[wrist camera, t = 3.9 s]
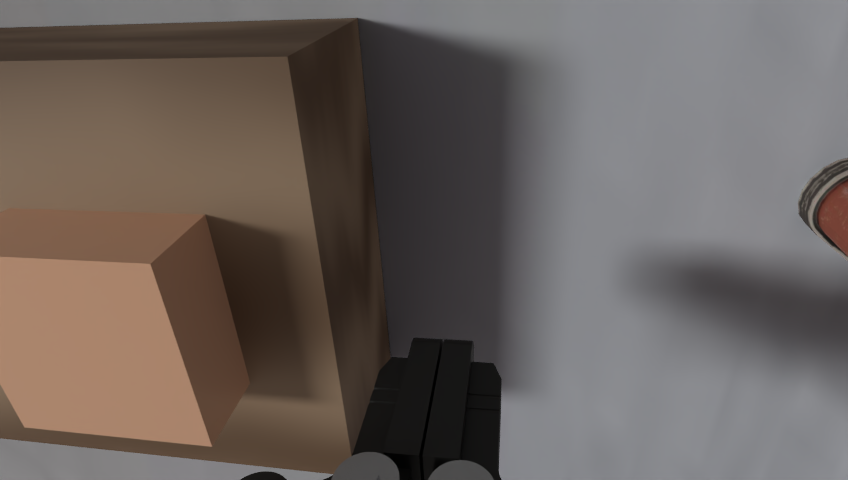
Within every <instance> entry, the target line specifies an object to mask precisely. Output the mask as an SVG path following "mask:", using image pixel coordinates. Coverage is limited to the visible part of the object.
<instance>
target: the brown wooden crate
mask: <svg viewBox="0 0 848 480" xmlns="http://www.w3.org/2000/svg"><path fill="white" fill-rule="evenodd" d="M8 208H20V209H51V210H82V211H114V212H145V213H177V214H205V216H206V219H207V223H208V227H209V231H210V234H211V238H212V242H213V246H214V249H215V253H216V257H217V261H218V264H219V268H220V272H221V276H222V279H223V283H224V287H225V291H226V294H227V298H228V302H229V306H230V309H231V313H232V317H233V321H234V324H235V328H236V332H237V336H238V339H239V343H240V347H241V351H242V354H243V358H244V362H245V366H246V369H247V373H248V377H249V381H250V384H249V386H248V388H247V389H246V391H245V393H244V394H243V396H242V398H241V399H240V401H239V403H238V404H237V406H236V408H235V409H234V411H233V413H232V414H231V416H230V418H229V419H228V421H227V423H226V424H225V426H224V428H223V429H222V431H221V433H220V434H219V436H218V438H217V439H216V441H215V443H214V444H213V446H212V447H209V446H200V445H190V444H180V443H171V442H161V441H151V440H141V439H132V438H122V437H112V436H103V435H93V434H83V433H74V432H64V431H54V430H45V429H35V428H25V427H24V426H23V424H22V422H21V420H20V419H19V417H18V415H17V413H16V412H15V410H14V408H13V406H12V404H11V403H10V401H9V399H8V397H7V396H6V394H5V392H4V390H3V388H2V387H1V385H0V438H3V439H13V440H22V441H31V442H41V443H50V444H59V445H69V446H78V447H87V448H96V449H106V450H115V451H124V452H134V453H143V454H152V455H161V456H171V457H180V458H189V459H199V460H208V461H217V462H226V463H236V464H245V465H254V466H264V467H273V468H282V469H292V470H301V471H310V472H319V473H329V474H334V472H335V471H336V469H337V468H338V466H339V465H340V464H341V463H342V462H343V461H345V460H346V459H347V458H349V457H351V456H352V454H353V451H354V448H355V445H356V442H357V439H358V435H359V432H360V429H361V426H362V423H363V420H364V417H365V414H366V410H367V407H368V404H369V403H370V398H371V395H372V392H373V390H374V385H375V382H376V379H377V376H378V373H379V370H380V369H381V368H382V367H383V366H384V365H385V364H386V363H387V362H388V361H389V360H390V359H391V357H390V347H389V336H388V326H387V316H386V306H385V295H384V285H383V275H382V264H381V254H380V244H379V234H378V223H377V213H376V203H375V192H374V182H373V172H372V162H371V151H370V141H369V131H368V120H367V110H366V100H365V90H364V79H363V69H362V59H361V48H360V38H359V28H358V18H344V19H307V20H271V21H234V22H198V23H162V24H125V25H89V26H53V27H16V28H0V213H1V212H3V211H4V210H6V209H8Z"/></svg>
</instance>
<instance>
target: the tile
mask: <svg viewBox="0 0 848 480" xmlns="http://www.w3.org/2000/svg"><path fill="white" fill-rule="evenodd" d="M249 384H250V381H249V377H248V373H247V369H246V366H245V362H244V358H243V354H242V351H241V347H240V343H239V339H238V336H237V332H236V328H235V324H234V321H233V317H232V313H231V309H230V306H229V302H228V298H227V294H226V291H225V287H224V283H223V279H222V276H221V272H220V268H219V264H218V261H217V257H216V253H215V249H214V246H213V242H212V238H211V234H210V231H209V227H208V223H207V219H206V216H205V214H177V213H145V212H114V211H82V210H51V209H20V208H8V209H6V210H4V211H3V212H1V213H0V385H1V387H2V388H3V390H4V392H5V394H6V396H7V397H8V399H9V401H10V403H11V404H12V406H13V408H14V410H15V412H16V413H17V415H18V417H19V419H20V420H21V422H22V424H23V426H24V427H25V428H35V429H45V430H54V431H64V432H74V433H83V434H93V435H103V436H112V437H122V438H132V439H141V440H151V441H161V442H171V443H180V444H190V445H200V446H209V447H212V446H213V444H214V443H215V441H216V439H217V438H218V436H219V434H220V433H221V431H222V429H223V428H224V426H225V424H226V423H227V421H228V419H229V418H230V416H231V414H232V413H233V411H234V409H235V408H236V406H237V404H238V403H239V401H240V399H241V398H242V396H243V394H244V393H245V391H246V389H247V388H248V386H249Z"/></svg>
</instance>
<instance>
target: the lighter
mask: <svg viewBox="0 0 848 480" xmlns="http://www.w3.org/2000/svg"><path fill="white" fill-rule="evenodd" d="M798 210H799V215H800V216H801V218H802V219H803V221H804V222H805V223H806V224H807V225H808V226H809V228H810V229H811V230H812V231H813V232H814V233H815V234H816V235H817V236H819V237H820V238H821V239H822V240H823V241H824V242H826V243H827V244H828V245H829V246H830V247H832V248H833V249H834V250H835V251H836V252H838V253H839V254H840V255H841V256H842V257H844V258H845V259H846V260H847V261H848V158H845V159H841V160H838V161H836V162H834V163H832V164H830V165H828V166H826V167H824V168H823V169H821V170H820V171H819V172H818V173H817V174H815V175H814V176H813V177H812V178H811V179H810V180H809V182H808V183H807V184H806V186H805V187H804V188H803V190H802V192H801V195H800V198H799V201H798Z"/></svg>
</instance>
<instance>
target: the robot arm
mask: <svg viewBox="0 0 848 480" xmlns="http://www.w3.org/2000/svg"><path fill="white" fill-rule="evenodd" d="M500 419H501V377H500V375H499V373H498V371H497V369H496V367H495V365H494V364H493V363H481V362H474V342H473V341H465V340H447V339H445V340H444V342H443V340H442V339H427V338H414V339H413V341H412V344H411V348H410V352H409V356H408V358H398V357H391V359H390V360H389V361H388V362H387V363H386V364H385V365H384V366H383V367H382V368H381V369H380V370H379V373H378V376H377V379H376V382H375V385H374V390H373V392H372V395H371V398H370V403H369V404H368V407H367V410H366V414H365V417H364V420H363V423H362V426H361V429H360V432H359V435H358V439H357V442H356V445H355V448H354V451H353V454H352V456H351V457H349V458H347V459H346V460H345V461H343V462H342V463H341V464H340V465H339V466H338V468H337V469H336V471H335V472H334V474H333V475H332V476H331V477H329V478H326V479H324V480H501V478H500V475H499V447H500ZM241 480H286V479H285V478H284V477H283V476H281V475H280V474H277V473H274V472H257V473H254V474H251V475H248V476H246V477H244V478H242V479H241Z"/></svg>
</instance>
